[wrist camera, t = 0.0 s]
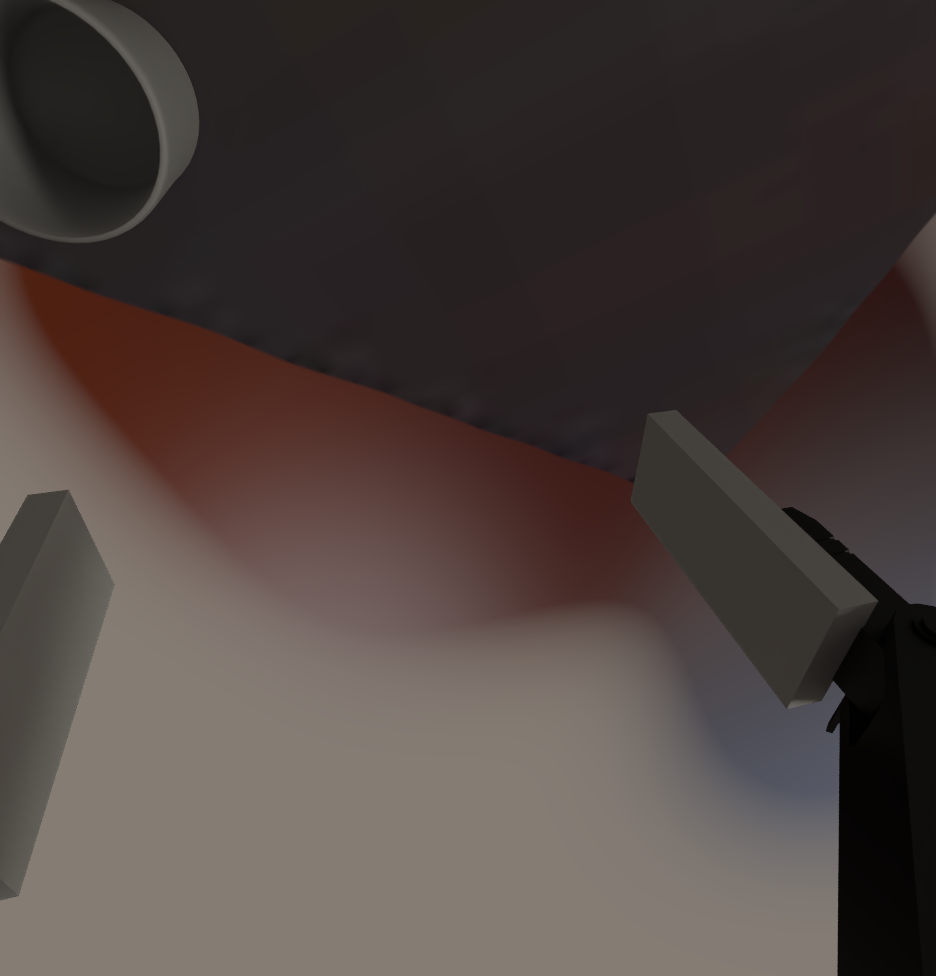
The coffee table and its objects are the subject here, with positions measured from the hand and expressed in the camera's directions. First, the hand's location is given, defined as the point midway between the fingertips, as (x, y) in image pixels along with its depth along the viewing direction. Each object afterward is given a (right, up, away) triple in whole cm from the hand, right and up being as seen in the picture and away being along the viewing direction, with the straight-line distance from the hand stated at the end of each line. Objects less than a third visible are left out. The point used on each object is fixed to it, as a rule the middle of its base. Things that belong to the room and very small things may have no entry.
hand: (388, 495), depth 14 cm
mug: (-18, +20, +16) cm, 31 cm away
